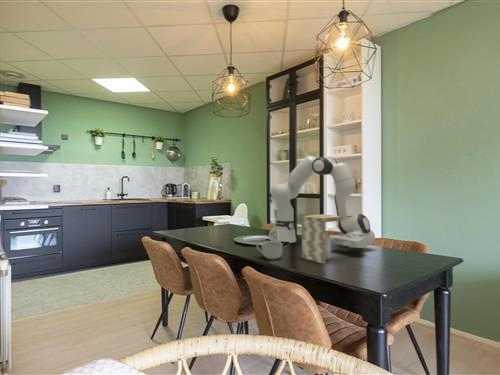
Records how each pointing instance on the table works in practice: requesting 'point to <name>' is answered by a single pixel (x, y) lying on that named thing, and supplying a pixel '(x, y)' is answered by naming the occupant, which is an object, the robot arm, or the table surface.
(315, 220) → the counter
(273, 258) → the teacup
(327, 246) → the pale grey upright cylinder
